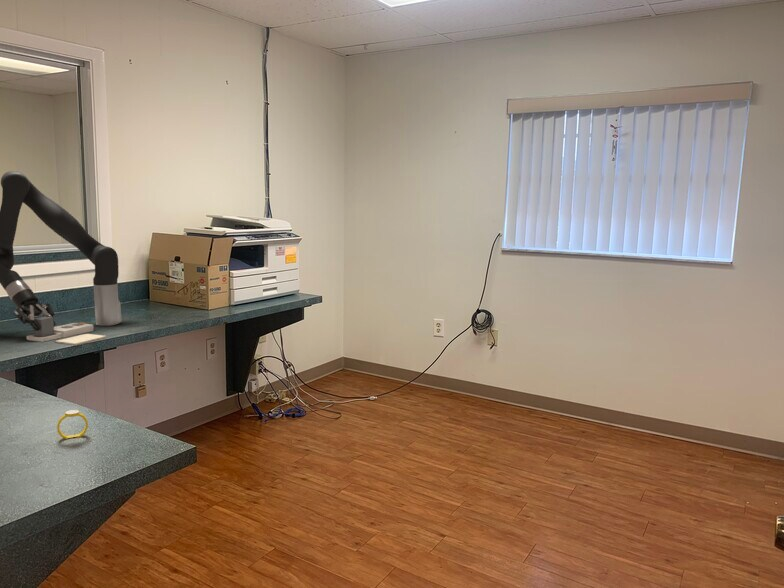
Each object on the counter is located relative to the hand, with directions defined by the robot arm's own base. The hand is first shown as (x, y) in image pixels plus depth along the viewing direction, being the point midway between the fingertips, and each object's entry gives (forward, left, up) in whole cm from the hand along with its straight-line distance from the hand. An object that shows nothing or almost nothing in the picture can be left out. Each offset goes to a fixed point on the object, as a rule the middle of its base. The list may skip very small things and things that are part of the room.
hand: (46, 327), depth 226 cm
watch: (+67, +90, -5) cm, 112 cm away
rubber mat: (-4, +13, -4) cm, 14 cm away
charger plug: (0, -1, -4) cm, 4 cm away
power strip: (-7, -1, -4) cm, 8 cm away
